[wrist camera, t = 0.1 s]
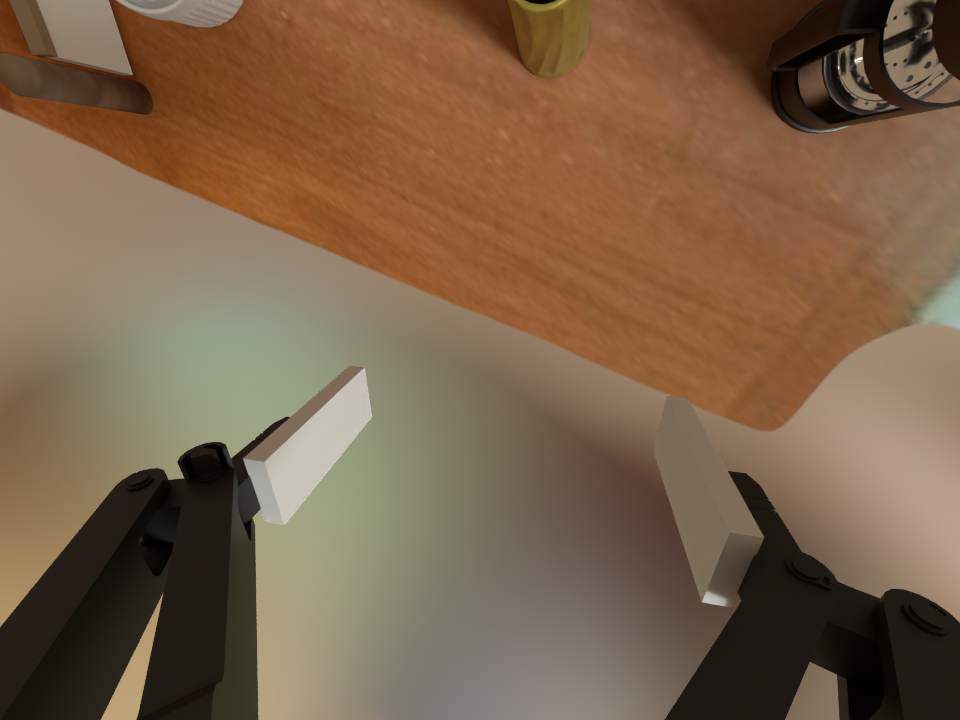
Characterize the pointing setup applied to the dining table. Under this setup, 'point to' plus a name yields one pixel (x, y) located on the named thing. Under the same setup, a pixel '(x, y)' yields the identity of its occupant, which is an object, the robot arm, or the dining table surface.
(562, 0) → the vase
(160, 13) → the ramekin
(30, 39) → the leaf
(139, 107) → the gate posts
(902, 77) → the french press
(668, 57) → the dining table surface
